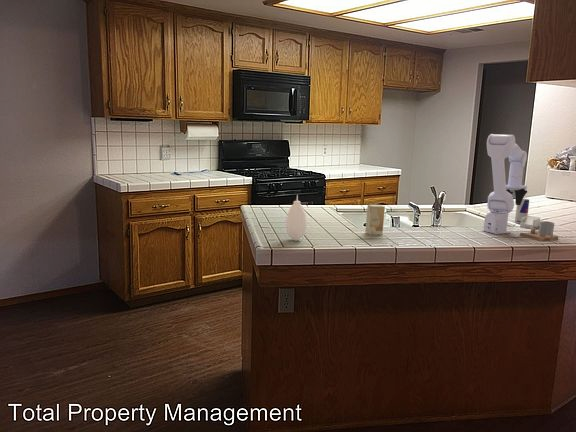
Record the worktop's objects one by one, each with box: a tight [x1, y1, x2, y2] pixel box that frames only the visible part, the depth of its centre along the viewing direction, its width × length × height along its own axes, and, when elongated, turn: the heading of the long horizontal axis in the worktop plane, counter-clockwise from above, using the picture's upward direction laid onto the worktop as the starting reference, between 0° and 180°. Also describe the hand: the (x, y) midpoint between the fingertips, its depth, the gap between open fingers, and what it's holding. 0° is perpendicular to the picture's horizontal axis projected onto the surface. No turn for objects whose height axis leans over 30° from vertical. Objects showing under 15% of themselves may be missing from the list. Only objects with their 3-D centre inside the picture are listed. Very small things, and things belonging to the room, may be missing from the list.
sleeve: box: [537, 220, 555, 238], centre depth 200 cm, size 6×6×6 cm
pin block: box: [519, 226, 559, 242], centre depth 203 cm, size 11×10×4 cm
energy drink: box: [514, 197, 530, 224], centre depth 235 cm, size 5×5×12 cm
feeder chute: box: [519, 215, 541, 230], centre depth 225 cm, size 9×6×5 cm
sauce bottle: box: [285, 194, 308, 242], centre depth 183 cm, size 8×8×18 cm
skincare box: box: [365, 204, 386, 236], centre depth 199 cm, size 6×4×12 cm
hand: (512, 205), depth 222 cm, fingers open, 7 cm apart
